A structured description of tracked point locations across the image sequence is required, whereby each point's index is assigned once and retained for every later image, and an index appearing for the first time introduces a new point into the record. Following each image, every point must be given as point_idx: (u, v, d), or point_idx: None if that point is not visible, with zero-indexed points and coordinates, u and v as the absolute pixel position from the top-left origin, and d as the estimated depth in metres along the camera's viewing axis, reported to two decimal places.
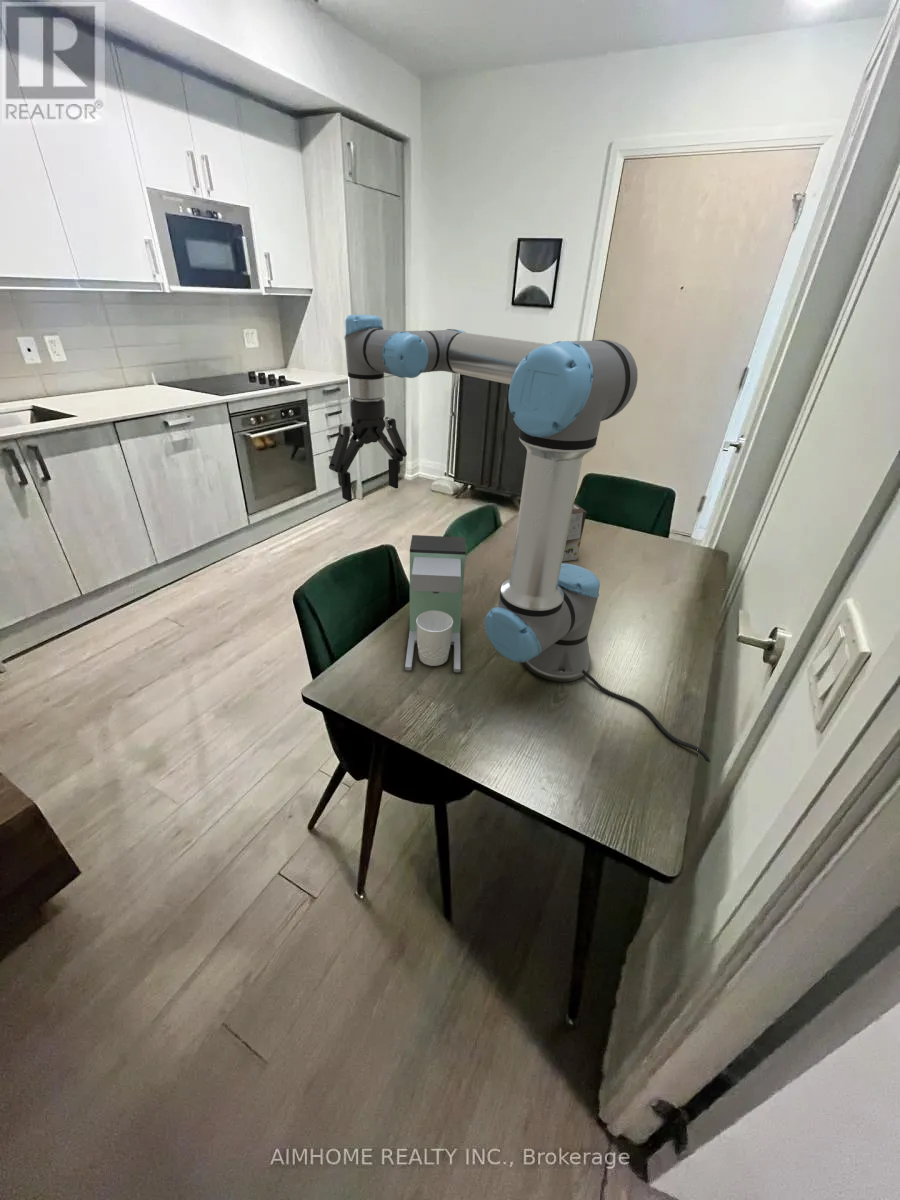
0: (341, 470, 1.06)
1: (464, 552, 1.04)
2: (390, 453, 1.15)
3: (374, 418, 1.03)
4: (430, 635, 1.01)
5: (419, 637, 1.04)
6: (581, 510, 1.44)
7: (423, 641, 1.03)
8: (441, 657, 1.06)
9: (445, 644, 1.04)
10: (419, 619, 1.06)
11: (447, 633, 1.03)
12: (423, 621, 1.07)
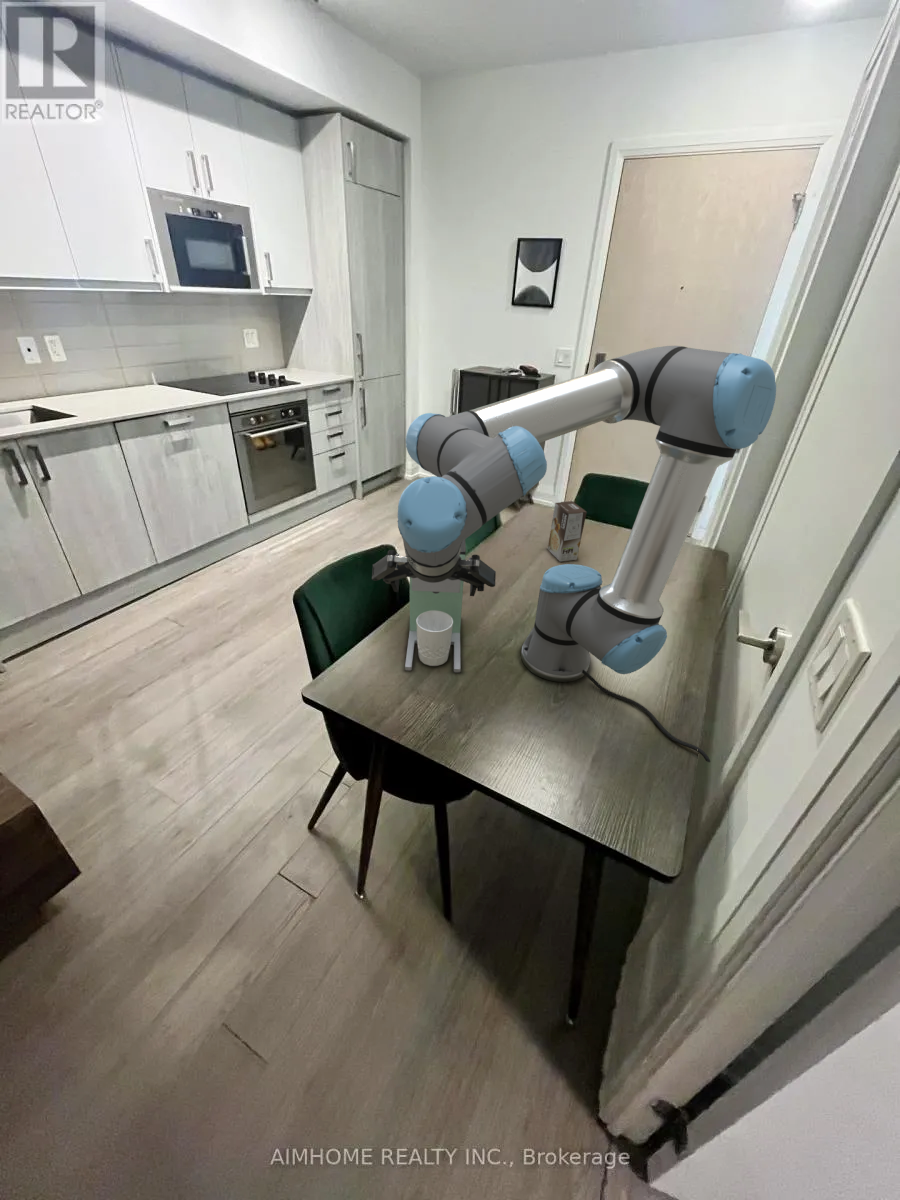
0: (383, 578, 0.80)
1: (464, 552, 1.04)
2: None
3: (425, 581, 0.69)
4: (430, 635, 1.01)
5: (419, 637, 1.04)
6: (581, 510, 1.44)
7: (423, 641, 1.03)
8: (441, 657, 1.06)
9: (445, 644, 1.04)
10: (419, 619, 1.06)
11: (447, 633, 1.03)
12: (423, 621, 1.07)
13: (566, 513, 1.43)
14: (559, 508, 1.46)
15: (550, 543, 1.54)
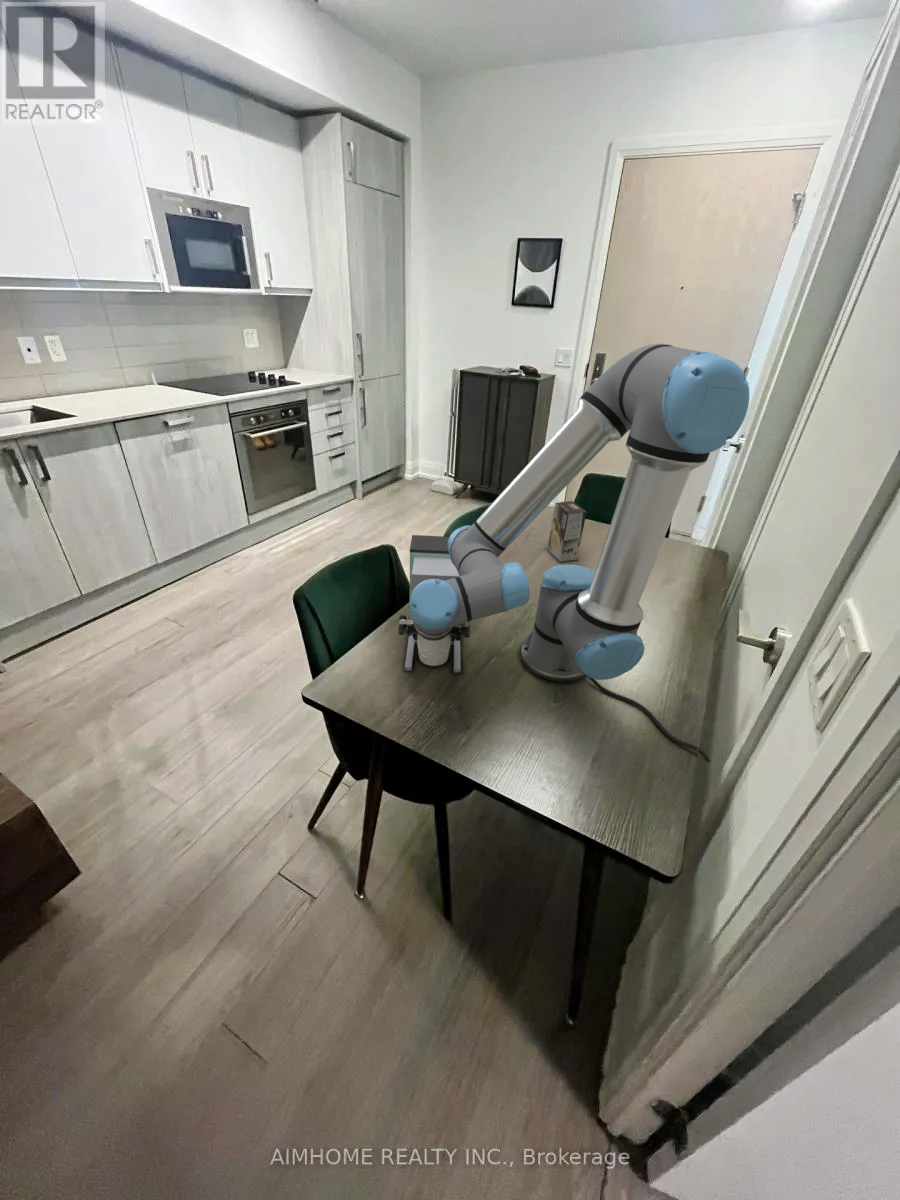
0: (407, 633, 1.03)
1: None
2: None
3: (428, 639, 0.91)
4: None
5: (419, 637, 1.04)
6: (581, 510, 1.44)
7: (423, 641, 1.03)
8: (441, 657, 1.06)
9: (445, 644, 1.04)
10: None
11: None
12: None
13: (566, 513, 1.43)
14: (559, 508, 1.46)
15: (550, 543, 1.54)
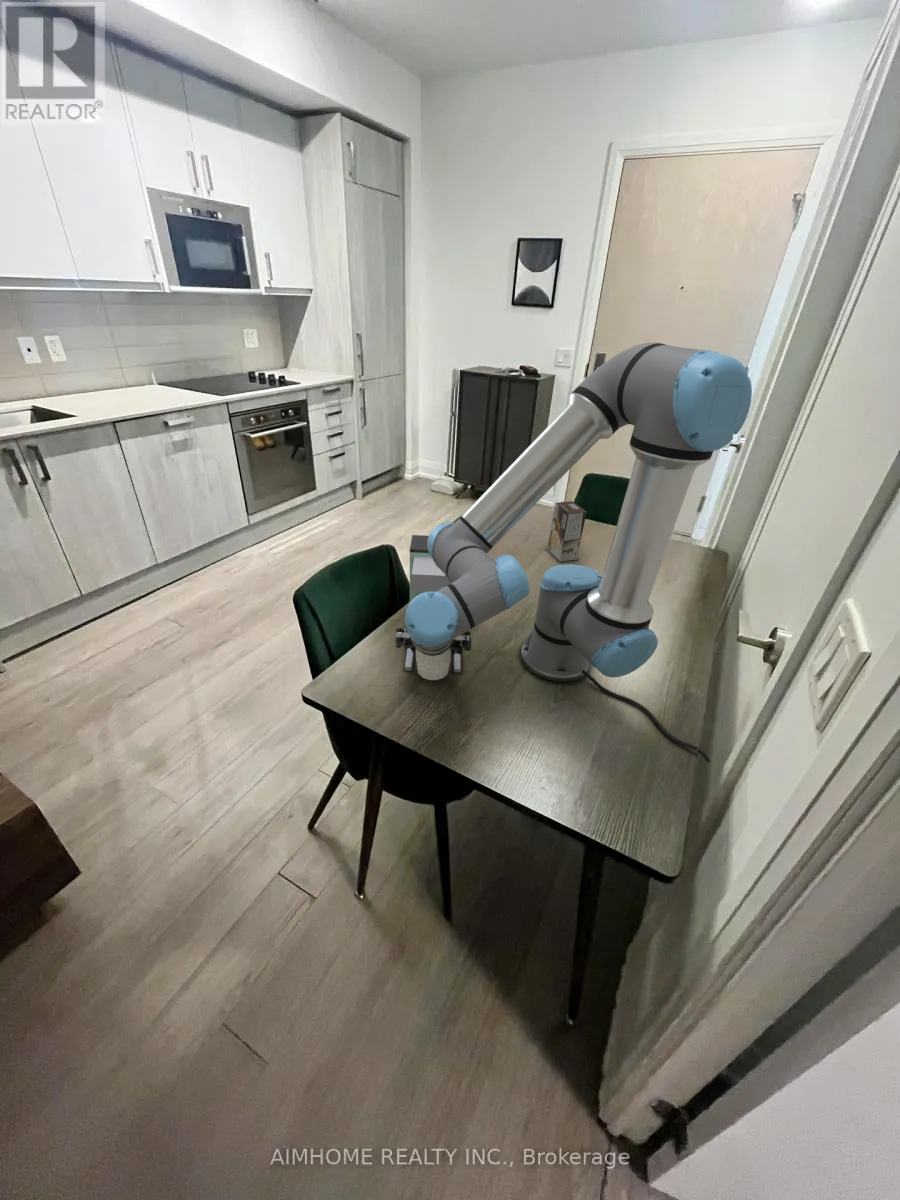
0: None
1: None
2: None
3: (426, 654, 0.85)
4: None
5: (417, 650, 0.98)
6: (581, 510, 1.44)
7: (421, 654, 0.97)
8: (441, 671, 1.00)
9: (445, 657, 0.98)
10: None
11: None
12: None
13: (566, 513, 1.43)
14: (559, 508, 1.46)
15: (550, 543, 1.54)
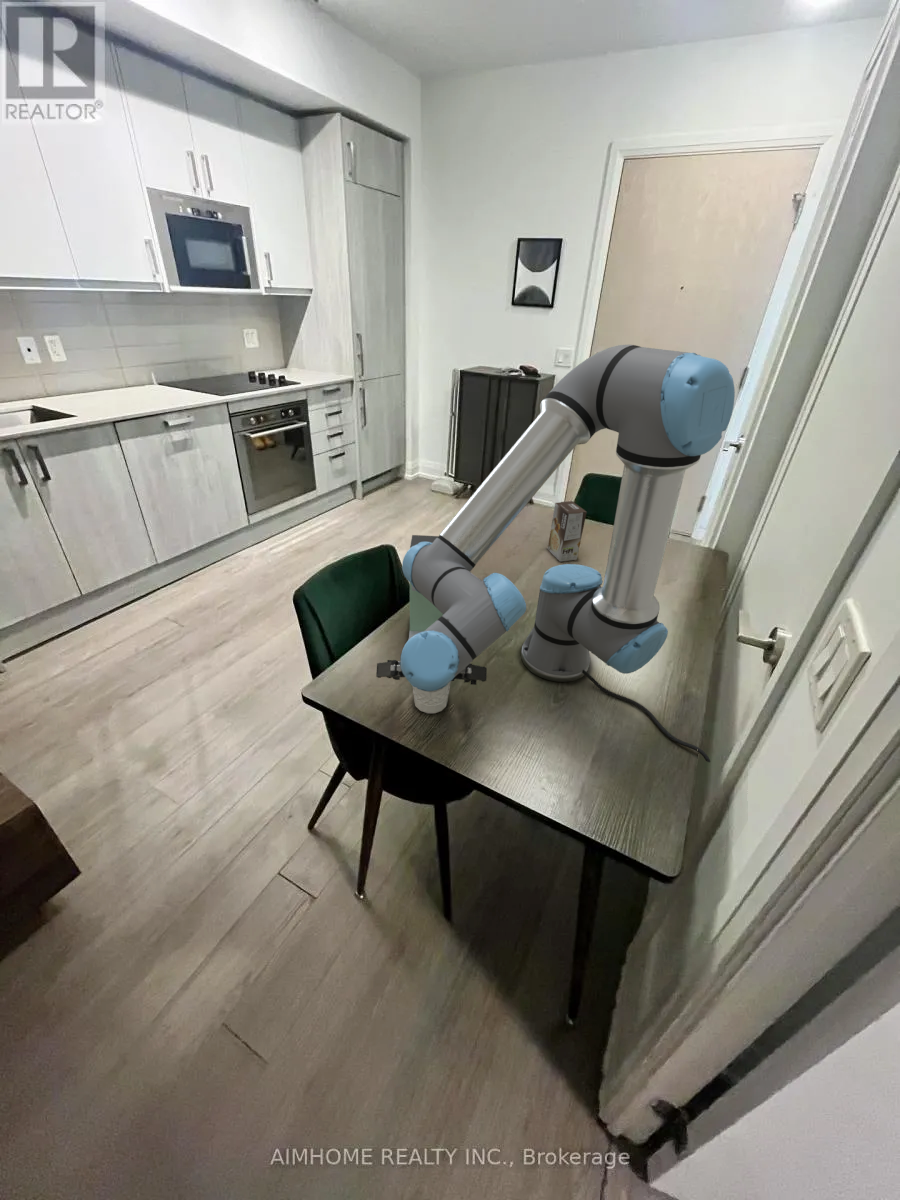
0: None
1: None
2: None
3: None
4: None
5: None
6: (581, 510, 1.44)
7: None
8: (439, 704, 0.94)
9: (444, 690, 0.92)
10: None
11: None
12: None
13: (566, 513, 1.43)
14: (559, 508, 1.46)
15: (550, 543, 1.54)
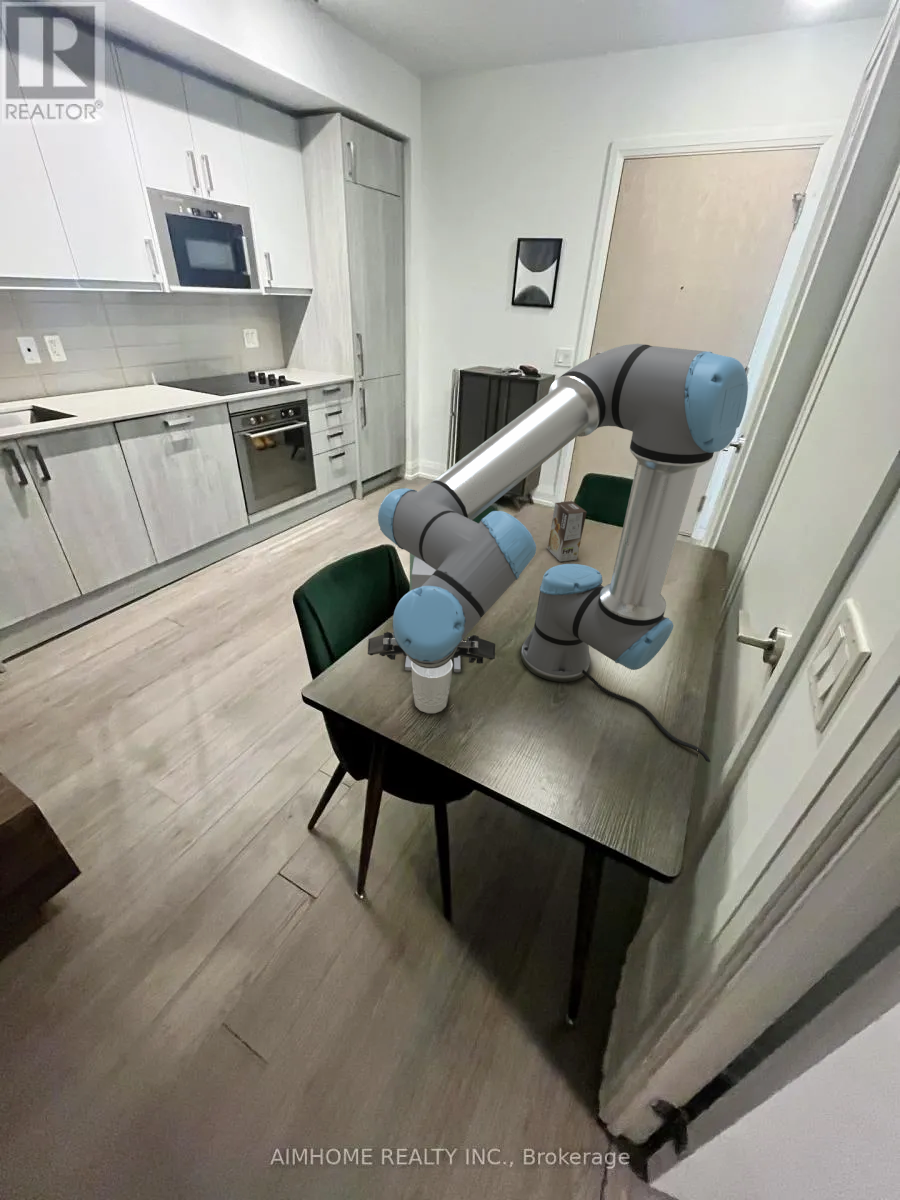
0: (379, 652, 0.77)
1: None
2: None
3: None
4: (426, 681, 0.90)
5: (414, 682, 0.92)
6: (581, 510, 1.44)
7: (419, 687, 0.91)
8: (439, 704, 0.94)
9: (444, 690, 0.92)
10: None
11: (446, 678, 0.91)
12: None
13: (566, 513, 1.43)
14: (559, 508, 1.46)
15: (550, 543, 1.54)
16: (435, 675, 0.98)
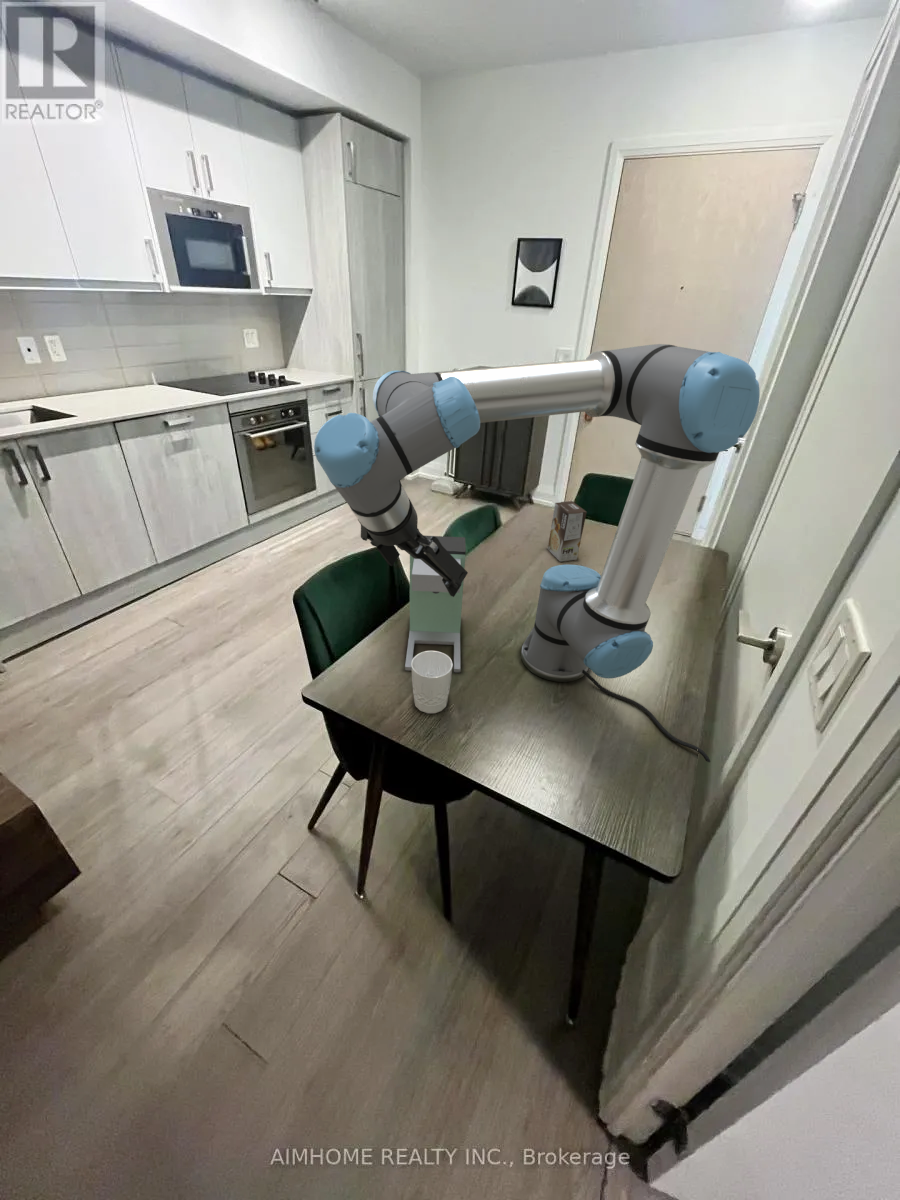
0: None
1: (464, 552, 1.04)
2: None
3: (374, 540, 0.70)
4: (426, 681, 0.90)
5: (414, 682, 0.92)
6: (581, 510, 1.44)
7: (419, 687, 0.91)
8: (439, 704, 0.94)
9: (444, 690, 0.92)
10: (414, 661, 0.94)
11: (446, 678, 0.91)
12: (419, 663, 0.95)
13: (566, 513, 1.43)
14: (559, 508, 1.46)
15: (550, 543, 1.54)
16: (435, 675, 0.98)
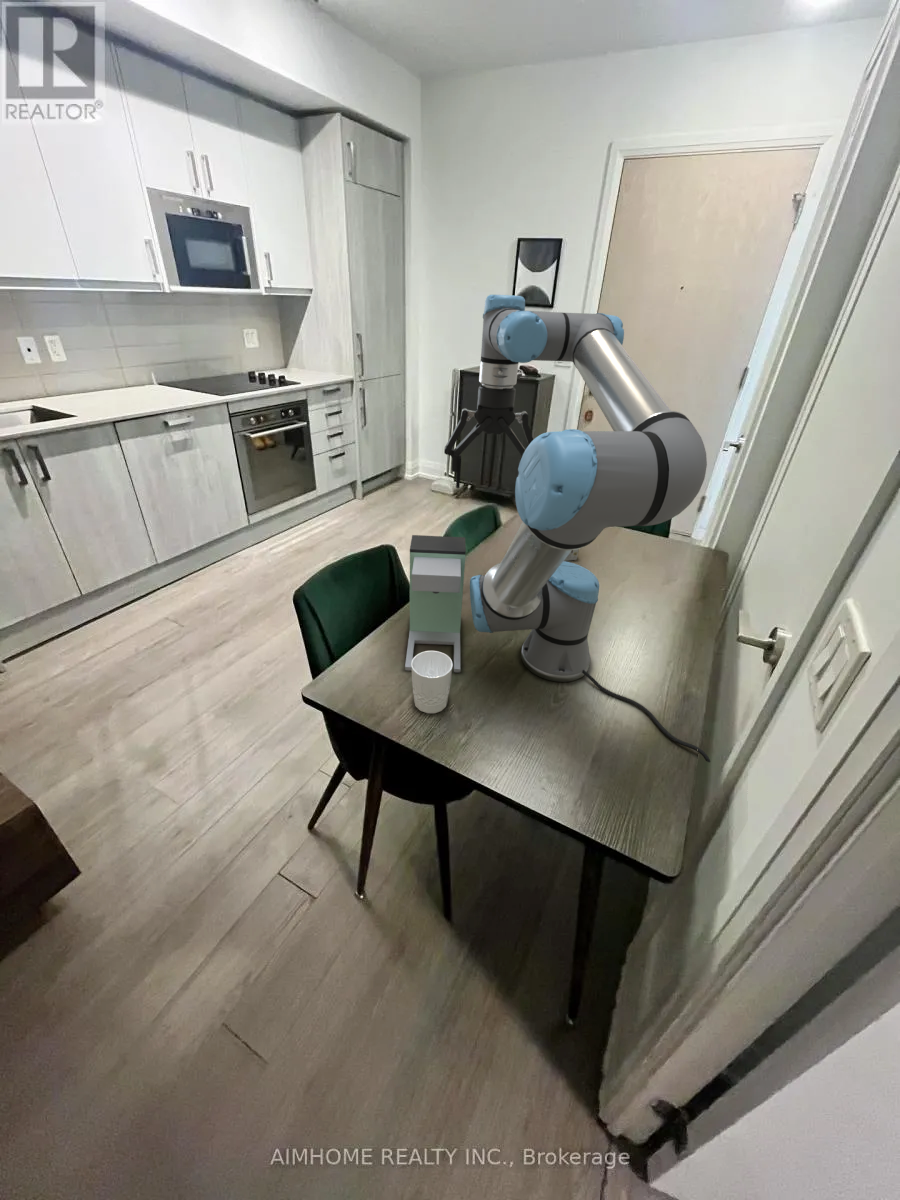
0: None
1: (464, 552, 1.04)
2: None
3: None
4: (426, 681, 0.90)
5: (414, 682, 0.92)
6: None
7: (419, 687, 0.91)
8: (439, 704, 0.94)
9: (444, 690, 0.92)
10: (414, 661, 0.94)
11: (446, 678, 0.91)
12: (419, 663, 0.95)
13: None
14: None
15: None
16: (435, 675, 0.98)
